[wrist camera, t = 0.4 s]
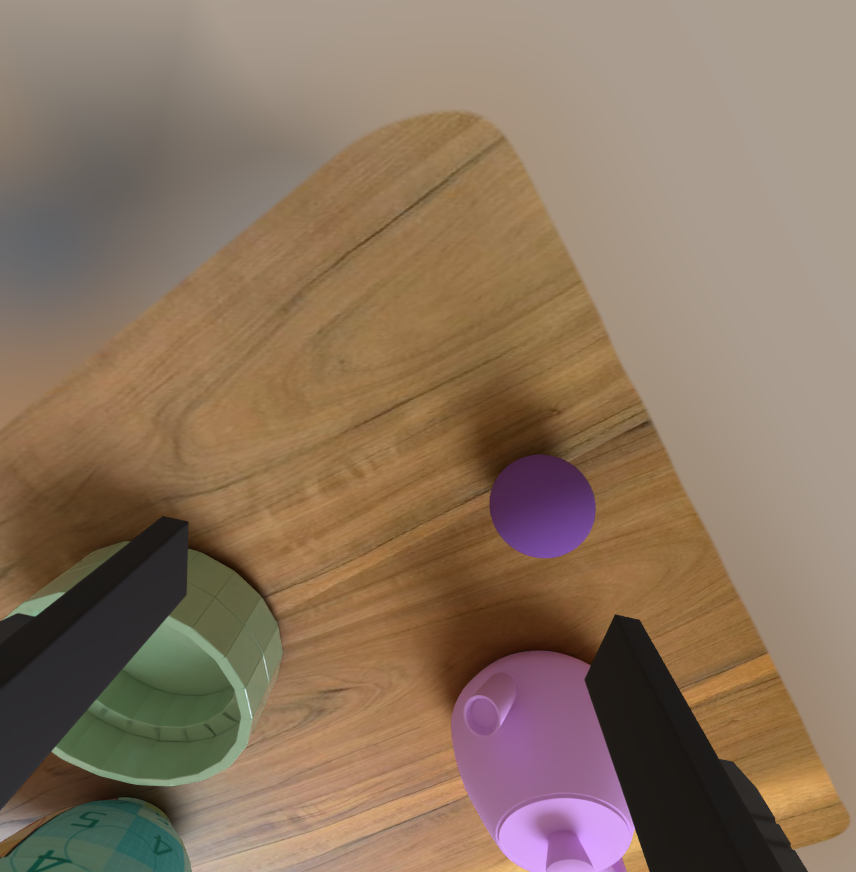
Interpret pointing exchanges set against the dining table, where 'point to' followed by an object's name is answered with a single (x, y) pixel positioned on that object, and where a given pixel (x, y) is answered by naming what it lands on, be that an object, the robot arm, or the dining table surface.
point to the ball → (542, 506)
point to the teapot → (541, 765)
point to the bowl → (97, 840)
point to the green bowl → (178, 681)
